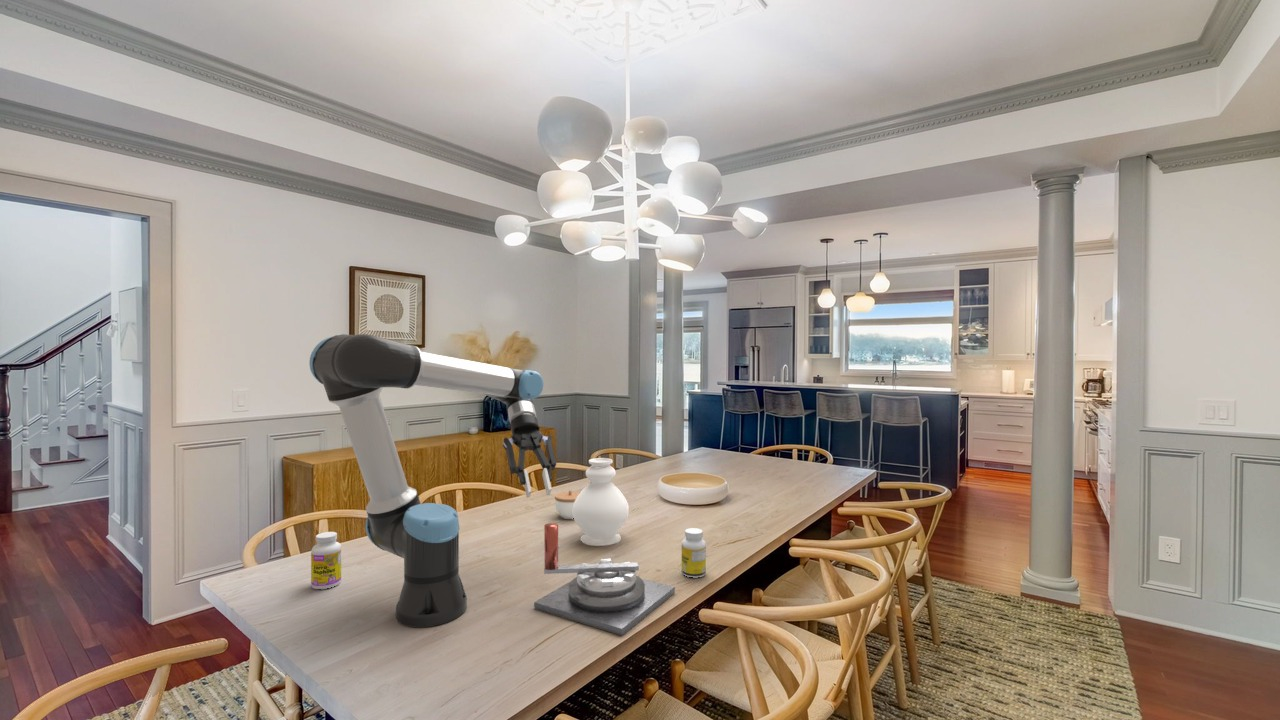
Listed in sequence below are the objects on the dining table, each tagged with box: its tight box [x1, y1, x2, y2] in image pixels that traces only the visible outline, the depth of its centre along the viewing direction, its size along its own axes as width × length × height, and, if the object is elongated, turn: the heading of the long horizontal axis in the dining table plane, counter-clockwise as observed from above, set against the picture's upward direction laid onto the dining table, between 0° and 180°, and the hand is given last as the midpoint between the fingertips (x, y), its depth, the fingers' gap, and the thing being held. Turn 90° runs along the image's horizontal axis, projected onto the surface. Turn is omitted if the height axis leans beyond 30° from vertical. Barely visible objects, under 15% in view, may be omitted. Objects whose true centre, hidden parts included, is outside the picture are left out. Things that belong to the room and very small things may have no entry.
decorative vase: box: [572, 457, 630, 547], centre depth 176 cm, size 18×18×25 cm
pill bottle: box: [681, 527, 707, 579], centre depth 148 cm, size 6×6×12 cm
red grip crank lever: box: [543, 522, 639, 597], centre depth 132 cm, size 22×14×14 cm, turn 95°
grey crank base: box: [533, 575, 676, 637], centre depth 132 cm, size 24×24×4 cm
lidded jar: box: [554, 490, 581, 520], centre depth 200 cm, size 11×11×9 cm
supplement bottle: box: [310, 531, 342, 590], centre depth 141 cm, size 7×7×13 cm
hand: (539, 493), depth 141 cm, fingers open, 4 cm apart
